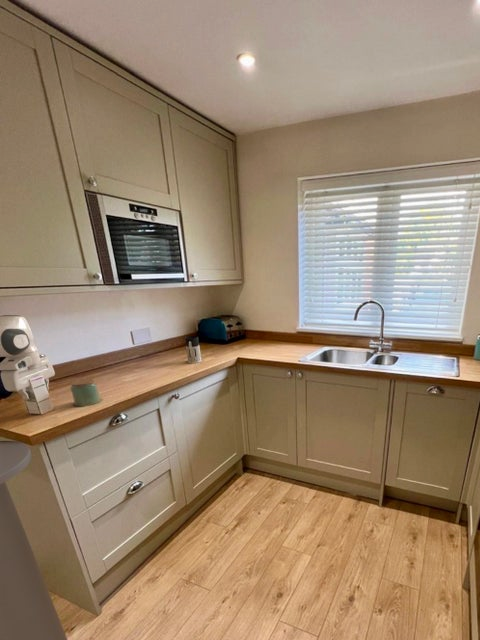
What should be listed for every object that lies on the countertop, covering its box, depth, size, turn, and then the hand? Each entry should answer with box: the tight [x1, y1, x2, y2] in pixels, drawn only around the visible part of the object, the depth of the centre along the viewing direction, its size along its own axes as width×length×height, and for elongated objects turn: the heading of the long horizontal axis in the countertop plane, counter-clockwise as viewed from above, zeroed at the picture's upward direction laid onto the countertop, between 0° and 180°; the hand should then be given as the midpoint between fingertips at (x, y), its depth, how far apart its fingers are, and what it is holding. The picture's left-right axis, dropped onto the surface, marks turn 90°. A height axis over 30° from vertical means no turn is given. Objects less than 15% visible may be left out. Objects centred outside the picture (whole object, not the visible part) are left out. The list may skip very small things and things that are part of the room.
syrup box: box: [23, 375, 54, 415], centre depth 127 cm, size 6×6×14 cm
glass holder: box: [184, 335, 203, 364], centre depth 199 cm, size 9×14×15 cm, turn 10°
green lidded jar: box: [69, 378, 101, 407], centre depth 137 cm, size 9×9×9 cm
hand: (36, 394), depth 127 cm, fingers open, 8 cm apart
